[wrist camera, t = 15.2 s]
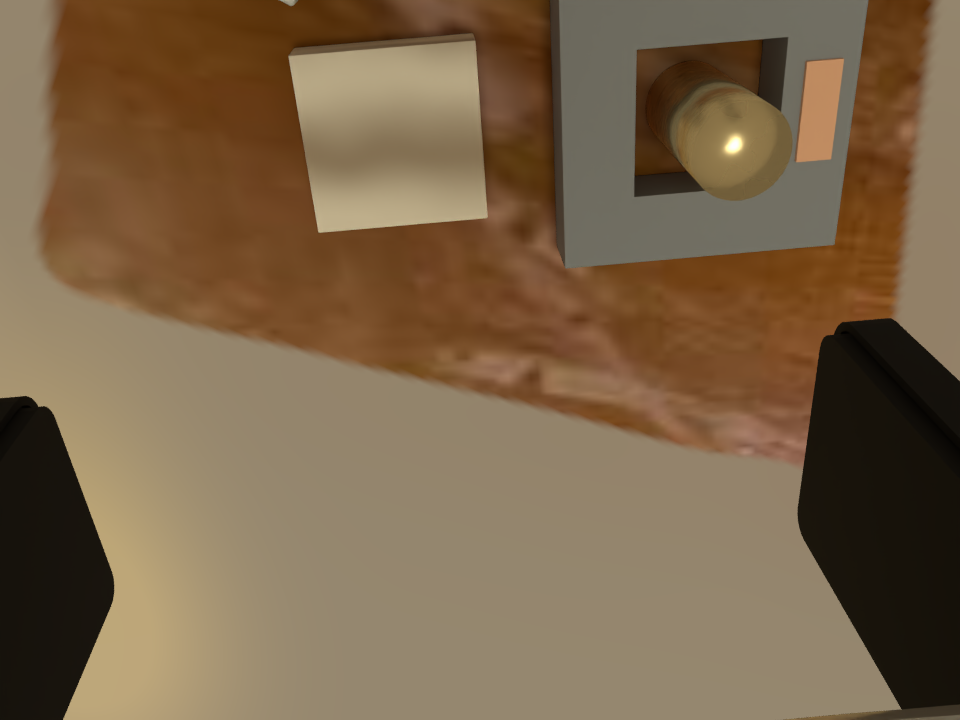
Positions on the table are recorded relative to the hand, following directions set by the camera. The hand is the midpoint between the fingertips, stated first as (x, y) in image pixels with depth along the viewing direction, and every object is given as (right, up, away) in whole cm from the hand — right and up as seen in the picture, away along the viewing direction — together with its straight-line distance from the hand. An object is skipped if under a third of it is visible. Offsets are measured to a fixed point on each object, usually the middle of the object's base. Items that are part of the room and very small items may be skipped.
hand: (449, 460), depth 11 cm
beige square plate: (-4, +12, +30) cm, 33 cm away
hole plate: (+10, +13, +30) cm, 35 cm away
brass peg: (+10, +13, +30) cm, 35 cm away
